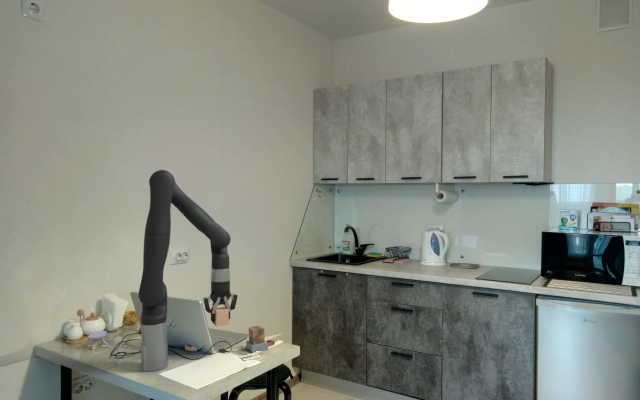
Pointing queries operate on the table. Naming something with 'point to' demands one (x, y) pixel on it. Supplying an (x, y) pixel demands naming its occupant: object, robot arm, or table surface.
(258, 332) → the walnut brick
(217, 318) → the terracotta brick
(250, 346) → the base brick
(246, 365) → the table surface
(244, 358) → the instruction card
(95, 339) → the toy table
